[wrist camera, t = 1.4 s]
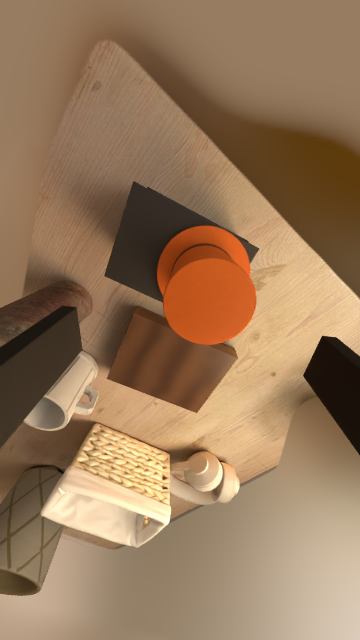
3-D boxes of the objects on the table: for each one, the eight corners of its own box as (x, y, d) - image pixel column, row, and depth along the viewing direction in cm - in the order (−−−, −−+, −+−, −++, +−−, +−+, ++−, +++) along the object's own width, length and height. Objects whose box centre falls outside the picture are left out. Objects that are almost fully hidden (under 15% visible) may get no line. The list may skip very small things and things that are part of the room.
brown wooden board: (112, 368, 43) (106, 378, 41) (138, 305, 37) (133, 312, 34) (196, 401, 46) (196, 413, 44) (234, 348, 40) (237, 358, 37)
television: (129, 259, 33) (104, 275, 23) (153, 193, 29) (133, 179, 19) (206, 295, 35) (212, 325, 25) (238, 238, 31) (260, 247, 21)
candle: (46, 303, 38) (-88, 380, 20) (59, 269, 35) (-84, 323, 17) (85, 324, 39) (-6, 414, 21) (100, 294, 36) (10, 367, 18)
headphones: (200, 437, 50) (153, 459, 60) (198, 474, 44) (145, 492, 54) (250, 469, 55) (199, 485, 65) (255, 506, 48) (197, 518, 58)
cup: (99, 345, 41) (66, 389, 30) (111, 380, 45) (86, 431, 34) (50, 348, 42) (1, 393, 31) (66, 383, 46) (27, 433, 35)
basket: (72, 449, 56) (35, 519, 43) (92, 414, 50) (56, 485, 37) (149, 478, 61) (138, 550, 47) (177, 450, 54) (173, 524, 41)
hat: (144, 294, 24) (121, 332, 16) (181, 206, 20) (174, 197, 12) (219, 328, 26) (232, 379, 17) (267, 253, 22) (314, 273, 13)
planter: (94, 490, 65) (57, 593, 47) (48, 500, 70) (-1, 597, 52) (55, 456, 58) (-6, 561, 40) (7, 469, 62) (-68, 569, 45)
